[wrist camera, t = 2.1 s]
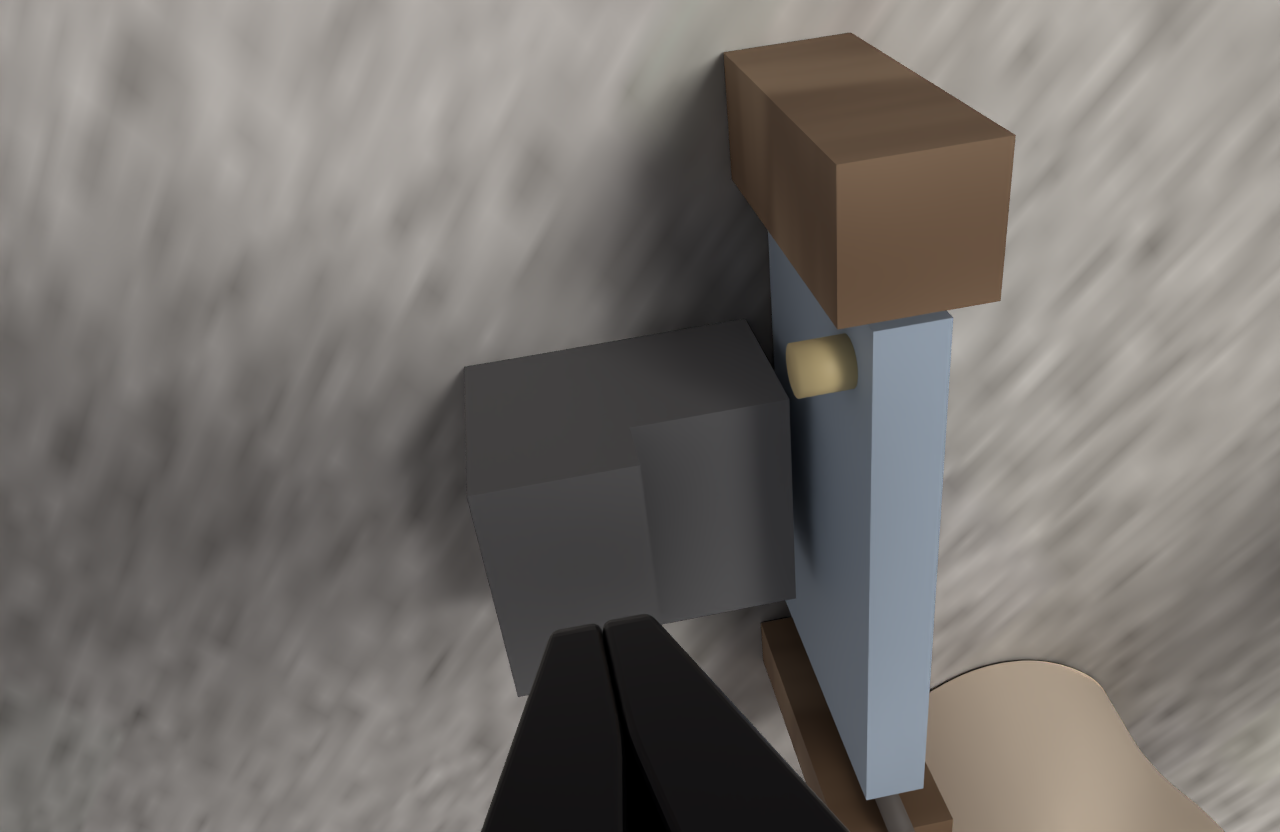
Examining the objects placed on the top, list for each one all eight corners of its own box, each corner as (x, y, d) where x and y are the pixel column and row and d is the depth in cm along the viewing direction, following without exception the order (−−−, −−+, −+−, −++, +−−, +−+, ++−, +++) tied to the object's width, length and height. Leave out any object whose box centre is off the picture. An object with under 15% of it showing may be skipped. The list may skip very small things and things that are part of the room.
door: (831, 590, 26) (923, 788, 20) (750, 606, 25) (823, 809, 20) (825, 181, 20) (953, 318, 15) (721, 199, 20) (812, 342, 14)
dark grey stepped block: (754, 499, 24) (813, 638, 20) (507, 545, 24) (517, 696, 20) (743, 315, 22) (808, 433, 18) (464, 363, 21) (466, 496, 17)
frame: (850, 643, 27) (955, 872, 21) (763, 660, 27) (845, 895, 21) (851, 32, 18) (1026, 141, 13) (723, 52, 18) (843, 172, 13)
